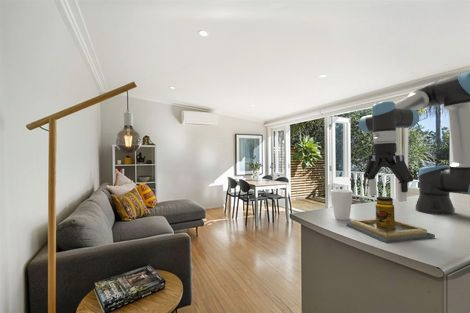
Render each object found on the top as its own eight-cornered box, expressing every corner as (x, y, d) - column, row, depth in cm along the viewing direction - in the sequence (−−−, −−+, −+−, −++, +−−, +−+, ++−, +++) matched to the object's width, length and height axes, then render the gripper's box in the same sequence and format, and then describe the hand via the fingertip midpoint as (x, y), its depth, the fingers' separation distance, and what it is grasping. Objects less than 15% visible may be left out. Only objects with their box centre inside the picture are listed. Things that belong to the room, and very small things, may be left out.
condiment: (376, 230, 88) (375, 198, 88) (373, 224, 95) (372, 194, 95) (399, 232, 85) (398, 199, 85) (394, 226, 92) (393, 195, 92)
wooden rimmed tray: (387, 222, 101) (387, 216, 101) (434, 237, 81) (434, 230, 81) (346, 225, 97) (346, 219, 97) (386, 242, 78) (385, 235, 78)
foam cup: (333, 220, 106) (332, 191, 106) (329, 215, 115) (329, 189, 115) (355, 221, 103) (355, 192, 104) (350, 216, 112) (350, 189, 113)
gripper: (353, 144, 101) (355, 193, 101) (406, 140, 76) (408, 205, 76) (368, 144, 102) (370, 192, 102) (424, 140, 78) (427, 203, 78)
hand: (386, 198), depth 89 cm, fingers open, 13 cm apart
